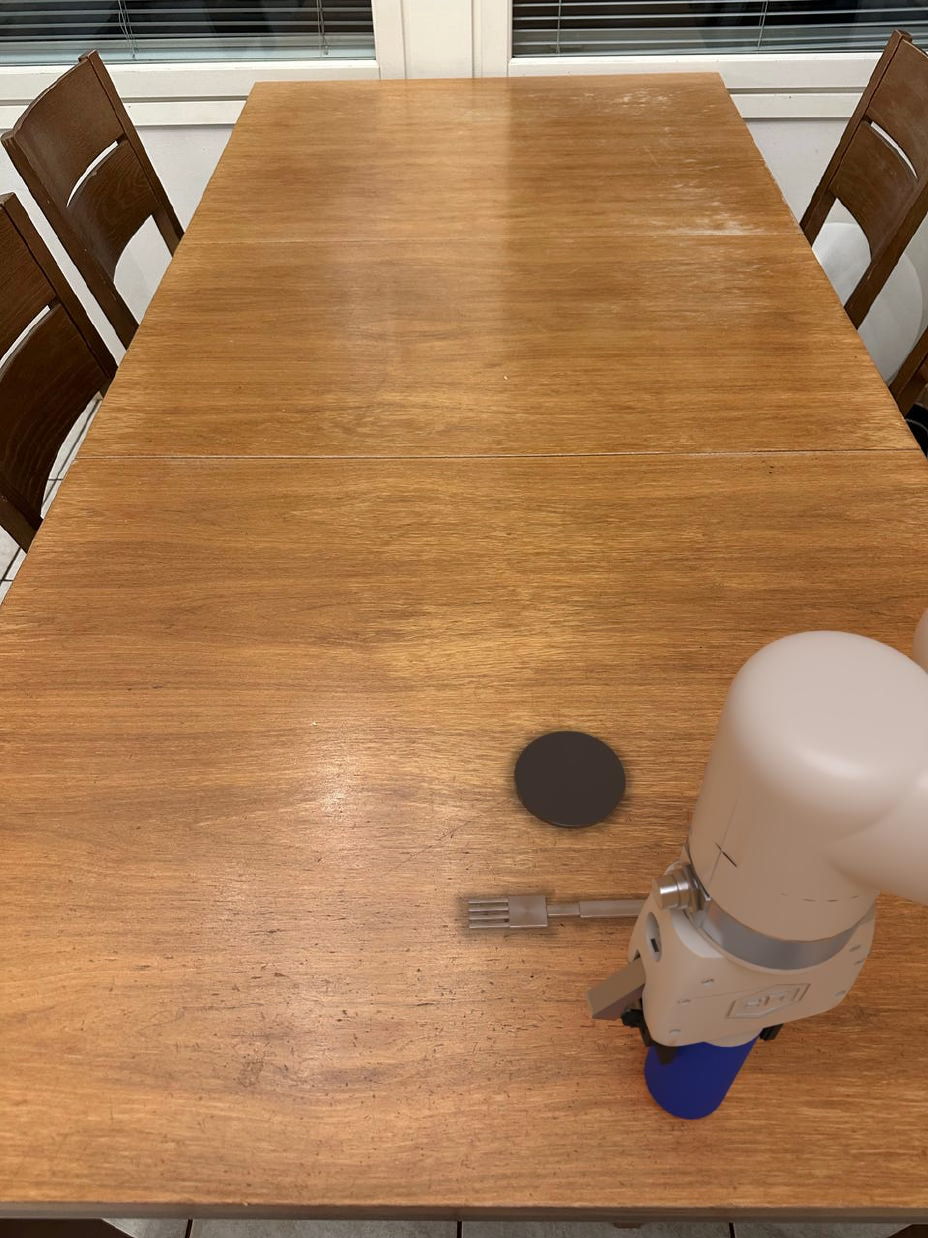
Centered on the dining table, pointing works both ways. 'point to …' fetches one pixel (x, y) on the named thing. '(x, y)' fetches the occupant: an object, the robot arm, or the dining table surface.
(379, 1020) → the dining table surface
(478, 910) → the fork
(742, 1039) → the beverage can
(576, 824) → the coaster
